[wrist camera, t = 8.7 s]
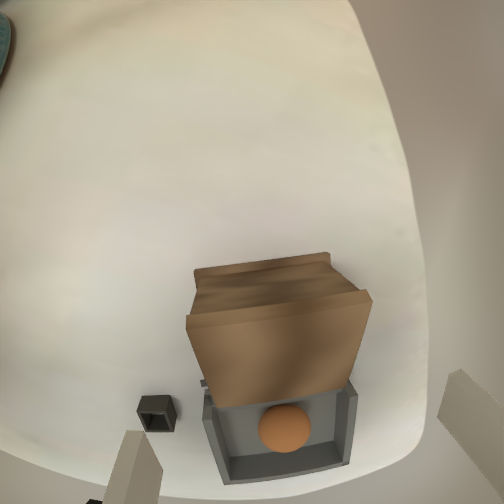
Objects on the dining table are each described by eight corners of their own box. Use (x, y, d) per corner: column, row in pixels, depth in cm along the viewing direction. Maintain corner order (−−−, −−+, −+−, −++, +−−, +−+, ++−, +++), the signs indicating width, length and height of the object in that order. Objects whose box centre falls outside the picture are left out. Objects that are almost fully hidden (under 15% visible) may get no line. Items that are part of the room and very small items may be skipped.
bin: (223, 456, 30) (224, 484, 25) (205, 389, 27) (202, 420, 23) (338, 438, 30) (349, 464, 26) (342, 368, 28) (358, 395, 24)
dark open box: (150, 416, 28) (145, 432, 25) (141, 395, 27) (136, 411, 25) (176, 416, 28) (173, 432, 25) (169, 395, 27) (165, 410, 25)
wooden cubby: (214, 371, 27) (210, 449, 17) (194, 269, 25) (174, 321, 15) (330, 354, 27) (369, 422, 18) (326, 252, 25) (380, 290, 16)
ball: (255, 423, 28) (263, 463, 24) (252, 398, 26) (261, 444, 22) (302, 414, 29) (314, 453, 24) (305, 389, 26) (320, 432, 22)
